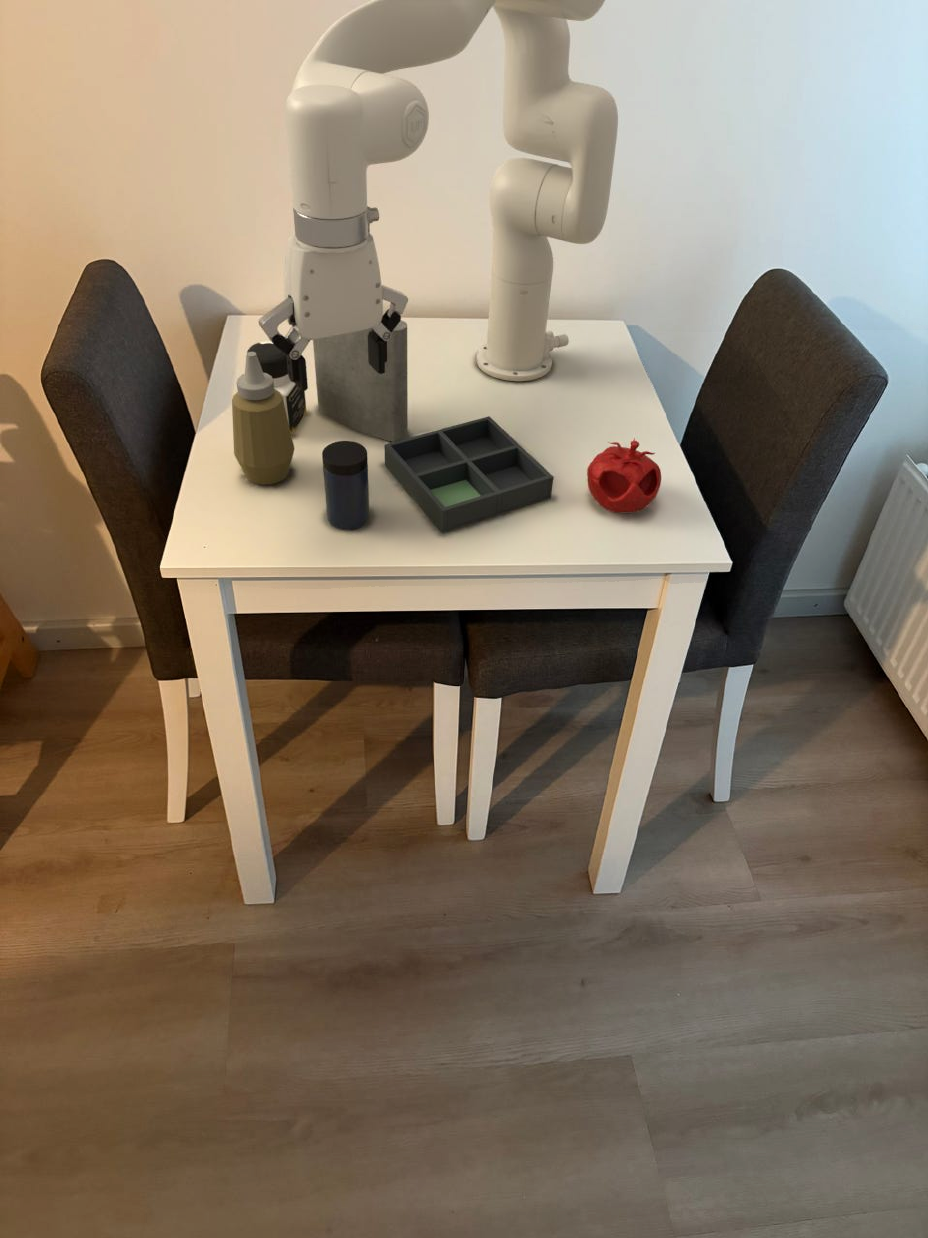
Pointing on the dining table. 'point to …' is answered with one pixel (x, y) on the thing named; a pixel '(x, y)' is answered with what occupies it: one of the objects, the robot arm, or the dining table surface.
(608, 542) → the dining table surface
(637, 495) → the red hollow tomato
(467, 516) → the tray
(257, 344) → the medicine bottle
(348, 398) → the hip flask
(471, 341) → the dining table surface
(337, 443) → the thermos
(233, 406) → the squeeze bottle
